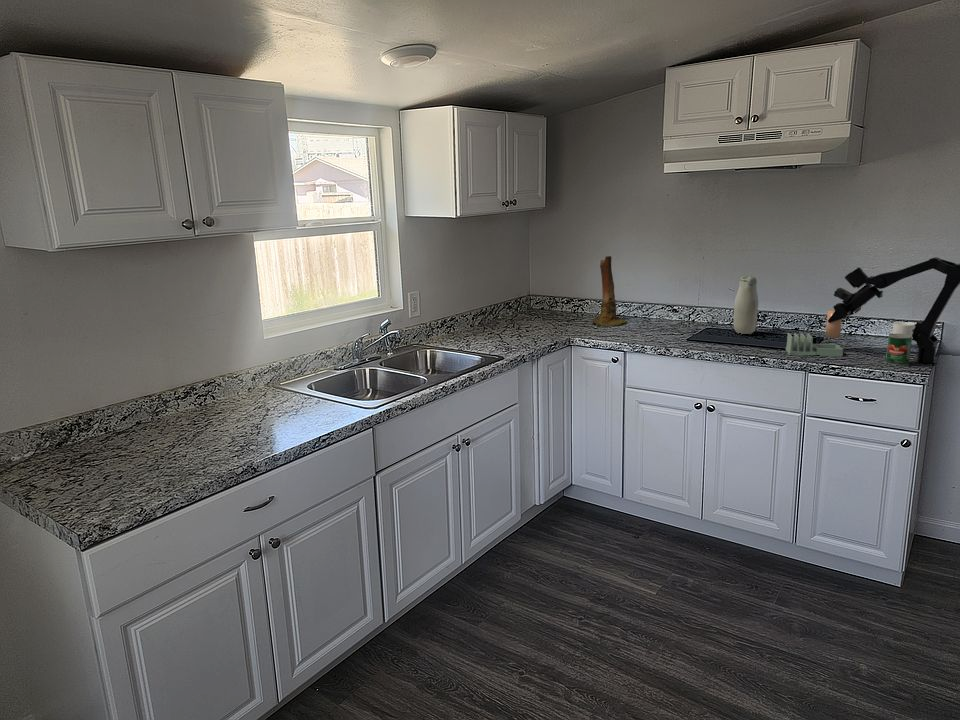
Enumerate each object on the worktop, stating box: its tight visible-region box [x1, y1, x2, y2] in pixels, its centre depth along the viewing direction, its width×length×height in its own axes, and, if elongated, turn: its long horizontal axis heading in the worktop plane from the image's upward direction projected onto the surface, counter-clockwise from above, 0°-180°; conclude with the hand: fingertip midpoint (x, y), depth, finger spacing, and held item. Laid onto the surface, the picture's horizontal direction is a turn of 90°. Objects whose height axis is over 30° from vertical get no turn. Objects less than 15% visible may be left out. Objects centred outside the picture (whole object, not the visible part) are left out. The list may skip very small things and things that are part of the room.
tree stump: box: [592, 255, 628, 327], centre depth 359 cm, size 20×16×35 cm
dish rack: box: [785, 332, 844, 357], centre depth 286 cm, size 10×20×8 cm, turn 76°
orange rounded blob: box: [825, 309, 843, 339], centre depth 289 cm, size 6×6×11 cm
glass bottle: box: [733, 274, 759, 335], centre depth 324 cm, size 10×10×28 cm
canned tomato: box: [885, 333, 913, 367], centre depth 266 cm, size 8×8×11 cm
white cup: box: [892, 321, 916, 339], centre depth 293 cm, size 8×8×10 cm
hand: (830, 320), depth 289 cm, fingers closed on orange rounded blob, 5 cm apart
